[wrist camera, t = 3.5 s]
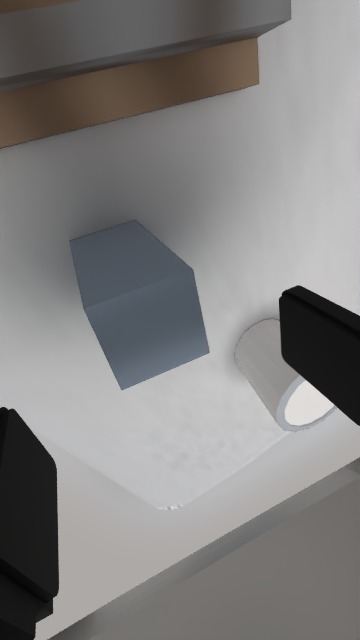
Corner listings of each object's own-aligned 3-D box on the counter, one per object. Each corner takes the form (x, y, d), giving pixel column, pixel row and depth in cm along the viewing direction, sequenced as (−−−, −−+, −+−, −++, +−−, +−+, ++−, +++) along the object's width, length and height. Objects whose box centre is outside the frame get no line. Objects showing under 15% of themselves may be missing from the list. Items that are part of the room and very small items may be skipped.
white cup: (246, 307, 24) (305, 356, 19) (305, 317, 27) (371, 361, 22) (217, 375, 27) (262, 436, 21) (274, 377, 30) (326, 430, 24)
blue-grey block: (69, 240, 17) (83, 308, 10) (134, 219, 18) (192, 268, 11) (98, 307, 20) (126, 400, 12) (154, 286, 20) (211, 362, 13)
